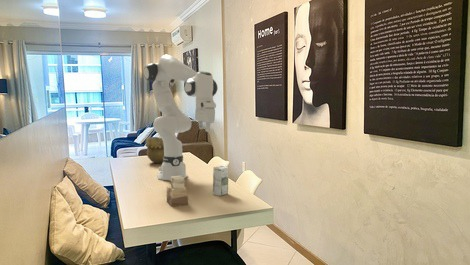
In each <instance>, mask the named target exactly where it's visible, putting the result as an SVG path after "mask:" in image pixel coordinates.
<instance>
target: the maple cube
mask: <svg viewBox="0 0 470 265" xmlns="http://www.w3.org/2000/svg"><path fill="white" fill-rule="evenodd" d="M170 186H171V187H172V188H173V189H182V188H184V187H185V178H184V177H182V176H173V177H171V180H170Z"/></svg>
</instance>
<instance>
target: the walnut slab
mask: <svg viewBox="0 0 470 265" xmlns="http://www.w3.org/2000/svg"><path fill="white" fill-rule="evenodd" d="M188 198H189V196H187V195H186V196H185V197H179V198H171V197H169V196H168V195H167V194H166V203H167V204H168V205H169V206H170V207H172V208H173V207H180V205H181V206H186V205H189V199H188Z"/></svg>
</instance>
